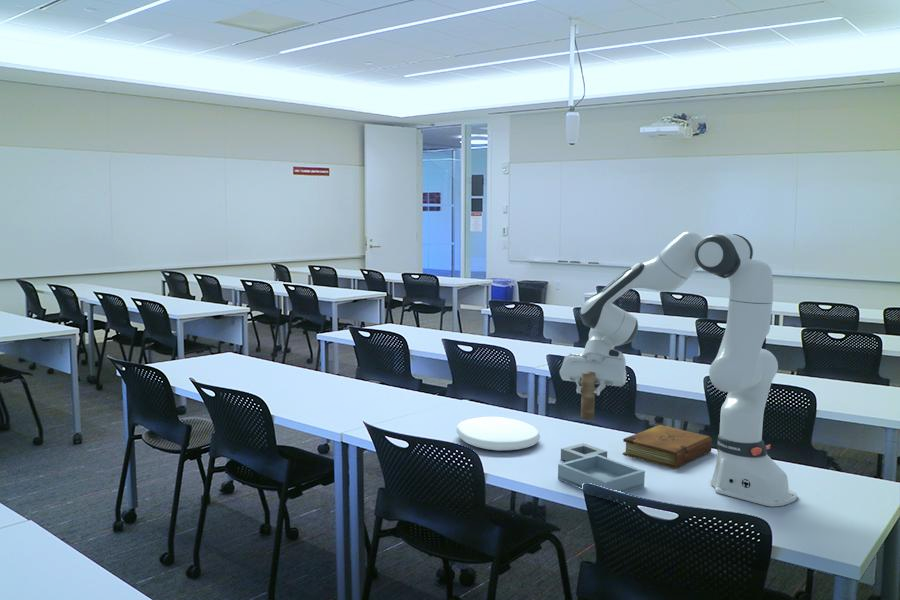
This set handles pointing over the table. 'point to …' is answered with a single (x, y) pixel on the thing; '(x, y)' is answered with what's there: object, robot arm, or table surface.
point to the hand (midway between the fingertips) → (587, 393)
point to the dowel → (587, 395)
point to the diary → (667, 446)
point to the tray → (601, 473)
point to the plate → (497, 433)
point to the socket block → (580, 452)
